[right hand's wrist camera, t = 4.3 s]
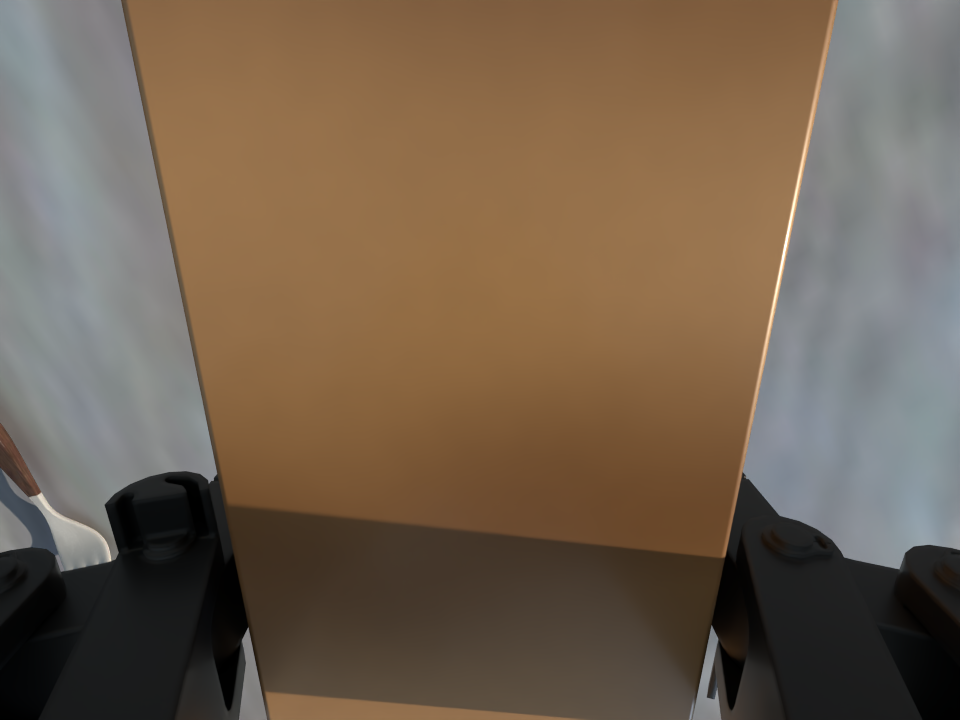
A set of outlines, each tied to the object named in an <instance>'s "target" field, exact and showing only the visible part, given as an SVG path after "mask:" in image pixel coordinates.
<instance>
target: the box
mask: <svg viewBox="0 0 960 720" xmlns="http://www.w3.org/2000/svg"><path fill="white" fill-rule="evenodd" d="M121 2H122V7H123V12H124V16H125V21H126V26H127V31H128V36H129V41H130V46H131V51H132V56H133V61H134V66H135V71H136V76H137V80H138V85H139V90H140V95H141V100H142V105H143V110H144V115H145V120H146V125H147V130H148V135H149V139H150V144H151V149H152V154H153V159H154V164H155V169H156V174H157V179H158V184H159V189H160V194H161V199H162V203H163V208H164V213H165V218H166V223H167V228H168V233H169V238H170V243H171V248H172V253H173V258H174V262H175V267H176V272H177V277H178V282H179V287H180V292H181V297H182V302H183V307H184V312H185V317H186V322H187V326H188V331H189V336H190V341H191V346H192V351H193V356H194V361H195V366H196V371H197V376H198V381H199V385H200V390H201V395H202V400H203V405H204V410H205V415H206V420H207V425H208V430H209V435H210V440H211V445H212V449H213V454H214V459H215V464H216V469H217V474H218V479H219V484H220V489H221V494H222V499H223V504H224V508H225V513H226V518H227V523H228V528H229V533H230V538H231V543H232V548H233V553H234V558H235V563H236V568H237V572H238V577H239V582H240V587H241V592H242V597H243V602H244V607H245V612H246V617H247V622H248V627H249V632H250V636H251V641H252V646H253V651H254V656H255V661H256V666H257V671H258V676H259V681H260V686H261V691H262V695H263V700H264V705H265V710H266V715H267V720H692V718H693V713H694V708H695V703H696V698H697V693H698V689H699V684H700V679H701V674H702V669H703V664H704V659H705V654H706V649H707V644H708V639H709V634H710V629H711V625H712V620H713V615H714V610H715V605H716V600H717V595H718V590H719V585H720V580H721V575H722V570H723V565H724V561H725V556H726V551H727V546H728V541H729V536H730V531H731V526H732V521H733V516H734V511H735V506H736V502H737V497H738V492H739V487H740V482H741V477H742V472H743V467H744V462H745V457H746V452H747V447H748V442H749V438H750V433H751V428H752V423H753V418H754V413H755V408H756V403H757V398H758V393H759V388H760V383H761V378H762V374H763V369H764V364H765V359H766V354H767V349H768V344H769V339H770V334H771V329H772V324H773V319H774V314H775V310H776V305H777V300H778V295H779V290H780V285H781V280H782V275H783V270H784V265H785V260H786V255H787V250H788V246H789V241H790V236H791V231H792V226H793V221H794V216H795V211H796V206H797V201H798V196H799V191H800V187H801V182H802V177H803V172H804V167H805V162H806V157H807V152H808V147H809V142H810V137H811V132H812V127H813V123H814V118H815V113H816V108H817V103H818V98H819V93H820V88H821V83H822V78H823V73H824V68H825V63H826V59H827V54H828V49H829V44H830V39H831V34H832V29H833V24H834V19H835V14H836V9H837V4H838V0H121Z"/></svg>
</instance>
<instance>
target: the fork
mask: <svg viewBox="0 0 960 720" xmlns="http://www.w3.org/2000/svg"><path fill="white" fill-rule="evenodd" d="M0 468H1V469H2V470H3V471H4V472H5V473H6V474H7V475H8V476H9V477H10V478H11V479H12V480H13V481H14V482H15V483H16V484H17V485H18V487H19V488H20V489H21V490H22V491H23V492H24V493H25V494H26V495H27V496H28V497H29V498H30V499H31V500H32V502H33V503H34V504H35V505H36V506H37V507H38V508H39V510H40V511H41V512H42V514H43V515H44V517H45V518H46V520H47V522H48V525H49V527H50V530H51V533H52V536H53V539H54V542H55V545H56V548H57V551H58V554H59V556H60V559H61V562H62V565H63V568H64V571H68V570H73V569H77V568H82V567H87V566H92V565H96V564H101V563H106V562H110V561H111V556H110V551H109V547H108V545H107V542H106V541H105V539H104V538H103V537H102V535H100V534H99V533H98V532H97V531H95V530H94V529H92V528H90V527H89V526H86V525H84V524H82V523H79V522H77V521H74V520H72V519H69V518H67V517H65V516H63V515H61V514H59V513H57V512H56V511H55V510H54V509H52V507H51V506H50V505H49V504H48V502H47V501H46V499H45V498H44V496H43V494H42V493H41V491H40V489H39V487H38V485H37V484H36V482H35V480H34V478H33V476H32V475H31V473H30V471H29V469H28V467H27V466H26V464H25V462H24V460H23V458H22V456H21V455H20V453H19V451H18V450H17V448H16V446H15V444H14V443H13V441H12V439H11V438H10V436H9V435H8V433H7V432H6V430H5V429H4V427H3V426H2V424H1V423H0Z"/></svg>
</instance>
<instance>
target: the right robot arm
mask: <svg viewBox="0 0 960 720" xmlns="http://www.w3.org/2000/svg"><path fill="white" fill-rule="evenodd" d="M105 508H106V511H107V514H108V518H109V521H110V525H111V528H112V531H113V535H114V538H115V541H116V545H117V548H118V551H119V554H118V556H117V558H116V560H113V561H110V562H106V563H101V564H96V565H92V566H87V567H82V568H77V569H73V570H68V571H63V572H61V571H60V568H59V566H58V563H57V560H56V557H55V555H54V554H52V553H51V552H50V551H48V550H47V549H41V548H32V547H31V548H24V549H17V550H10V551H6V552H2V553H0V720H239V713H240V705H241V697H242V689H243V681H244V673H245V665H246V661H245V654H244V648H243V644H242V639H243V637H244V635H245V633H246V631H247V628H248V622H247V617H246V612H245V607H244V602H243V597H242V592H241V587H240V582H239V577H238V572H237V568H236V563H235V558H234V553H233V548H232V543H231V538H230V533H229V528H228V523H227V518H226V513H225V508H224V504H223V499H222V494H221V489H220V484H219V479H218V474H217V475H216V476H215V477H214V481H211V482H210V483H208V480H207V479H206V478H204V477H203V476H202V475H201V474H197V473H192V472H187V471H183V472H168V473H163V474H159V475H155V476H150V477H147V478H145V479H142V480H140V481H137V482H135V483H132V484H130V485H128V486H127V487H125V488H124V489H122V490H120V491H119V492H117V493H116V494H114V495H113V496H112V497H111V499H110V500H109V501H108V502H107V503H106V504H105ZM712 626H713V629H714V631H715V633H716V635H717V637H718V644H717V648H716V653H715V658H714V663H713V667H712V672H711V677H710V681H709V687H708V694H707V698H711V699H715V695H716V690H717V688H718V696H719V704H720V712H721V720H960V550H957V549H953V548H947V547H940V546H933V545H924V546H915V547H913V548H911V549H910V550H909V551H907V552H906V553H905V555H904V558H903V561H902V564H901V567H900V570H899V569H894V568H890V567H885V566H880V565H875V564H870V563H865V562H861V561H856V560H852V559H848V558H844V557H843V555H842V553H841V551H840V550H839V549H838V547H837V546H836V545H835V543H834V542H833V541H832V540H831V539H830V538H828V537H827V536H825V535H824V534H823V533H821V532H820V531H819V530H817V529H815V528H813V527H811V526H809V525H806V524H804V523H802V522H800V521H797V520H793V519H789V518H785V517H781V516H779V515H778V514H777V512H776V511H775V510H774V509H773V508H772V506H771V505H770V504H769V503H768V502H767V500H766V499H765V498H764V497H763V496H762V495H761V493H760V492H759V491H758V490H757V489H756V487H755V486H754V485H753V484H752V483H751V481H750V480H749V479H746V476H745V474H744V473H743V472H742V477H741V482H740V487H739V492H738V497H737V502H736V506H735V511H734V516H733V521H732V526H731V531H730V536H729V541H728V546H727V551H726V556H725V561H724V565H723V570H722V575H721V580H720V585H719V590H718V595H717V600H716V605H715V610H714V615H713V620H712Z"/></svg>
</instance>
